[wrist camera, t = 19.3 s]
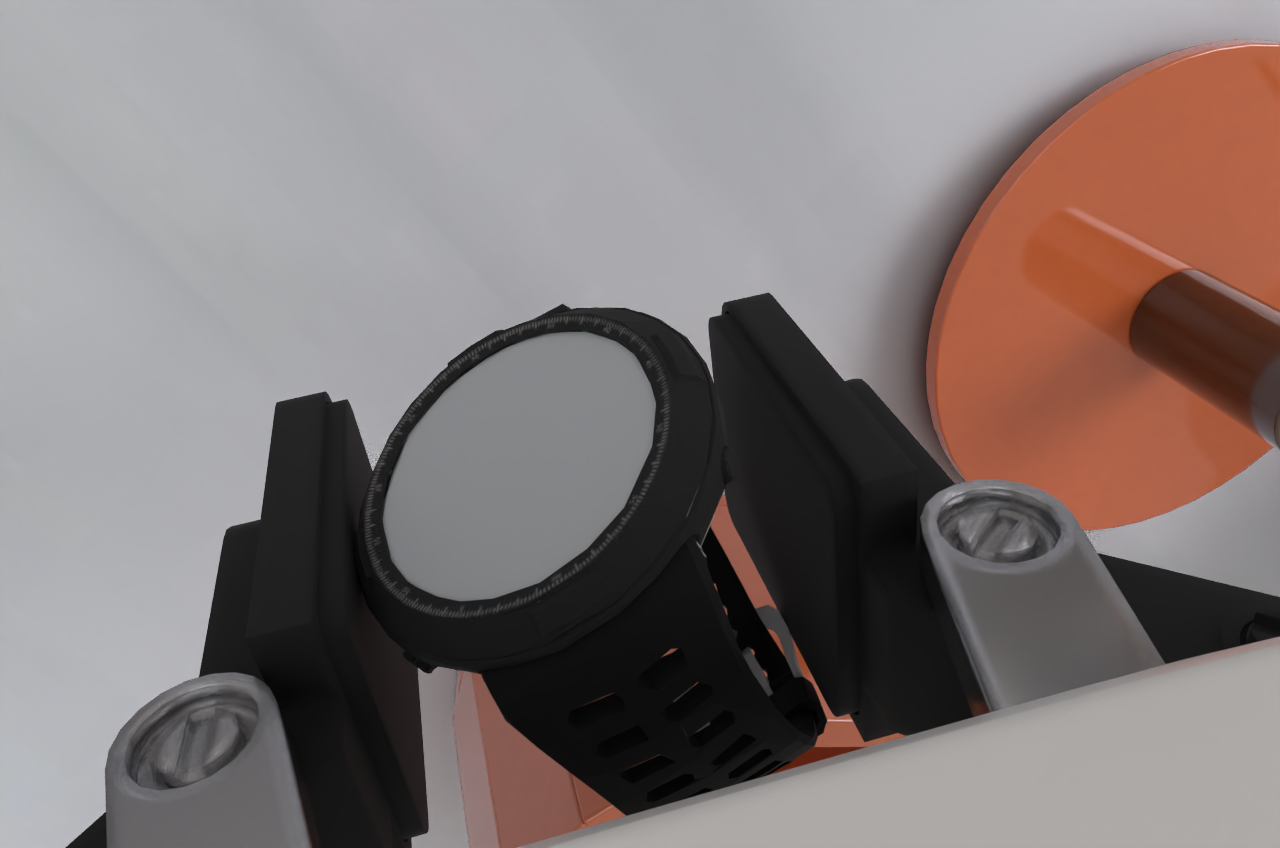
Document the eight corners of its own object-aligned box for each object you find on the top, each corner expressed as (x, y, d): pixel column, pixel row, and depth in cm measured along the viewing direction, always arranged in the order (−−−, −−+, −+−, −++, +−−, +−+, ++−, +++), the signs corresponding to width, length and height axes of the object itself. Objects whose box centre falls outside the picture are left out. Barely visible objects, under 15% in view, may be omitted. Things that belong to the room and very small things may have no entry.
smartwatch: (686, 207, 11) (879, 444, 7) (731, 560, 14) (889, 878, 10) (311, 294, 11) (286, 602, 7) (435, 642, 14) (471, 1012, 9)
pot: (404, 564, 23) (429, 835, 17) (869, 444, 25) (1047, 650, 19) (504, 871, 29) (549, 1153, 23) (873, 757, 31) (1009, 992, 25)
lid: (915, 93, 21) (1082, 170, 16) (1424, -12, 23) (1708, 29, 18) (910, 557, 27) (1029, 708, 23) (1307, 445, 29) (1493, 565, 24)
